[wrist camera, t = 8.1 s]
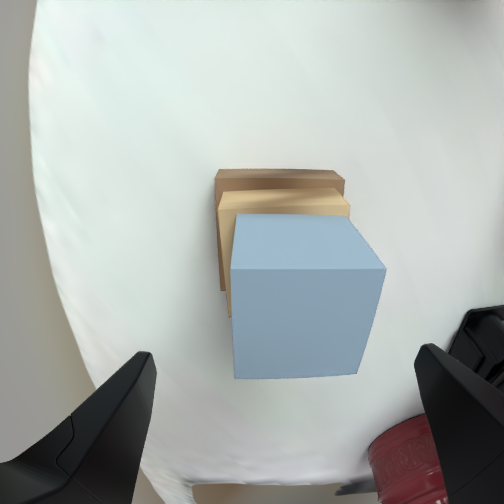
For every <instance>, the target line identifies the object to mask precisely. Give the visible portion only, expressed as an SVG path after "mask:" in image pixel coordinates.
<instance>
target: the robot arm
mask: <svg viewBox="0 0 504 504" xmlns="http://www.w3.org/2000/svg"><path fill="white" fill-rule="evenodd" d="M414 368H415V373H416V377H417V381H418V386H419V390H420V395H421V399H422V403H423V407H424V410H425V413H426V417H427V420H428V423H429V426H430V430H431V433H432V437H433V440H434V444H435V447H436V451H437V455H438V459H439V463H440V467H441V471H442V475H443V479H444V483H445V488H446V492H447V497H448V503H449V504H504V305H500V306H493V307H486V308H478V309H471V310H469V311H468V312H467V314H466V317H465V319H464V321H463V324H462V326H461V328H460V330H459V333H458V335H457V337H456V339H455V341H454V343H453V345H452V347H451V349H450V351H449V353H446V352H445V351H443V350H442V349H440V348H439V347H438V346H436V345H435V344H433V343H429V344H424V345H422V346H421V348H420V350H419V352H418V354H417V357H416V359H415V362H414ZM156 376H157V371H156V366H155V363H154V360H153V356H152V354H151V353H150V352H144V351H139V352H137V353H136V354H135V355H134V356H133V357H132V358H131V359H130V360H128V361H127V362H126V363H125V364H124V365H123V366H122V367H121V368H120V369H119V370H118V371H117V372H115V373H114V374H113V375H112V376H111V377H110V378H109V379H108V380H107V381H106V382H105V383H104V384H102V385H101V386H100V387H99V388H98V389H97V390H96V391H95V392H94V393H93V394H92V395H91V396H90V397H88V398H87V399H86V400H85V401H84V402H83V403H82V404H81V405H80V406H79V407H78V408H77V409H76V410H75V411H73V412H72V413H71V416H68V417H67V418H66V419H65V420H64V421H62V422H61V423H60V424H59V425H58V426H57V427H56V428H55V429H53V430H52V431H51V432H50V433H49V434H47V435H46V436H45V437H43V438H42V439H41V440H39V441H38V442H37V443H35V444H34V445H32V446H31V447H30V448H28V449H27V450H26V451H24V452H23V453H21V454H20V455H19V456H17V457H16V458H14V459H12V460H10V461H7V462H3V463H0V504H131V503H132V498H133V493H134V488H135V483H136V479H137V475H138V470H139V466H140V461H141V457H142V452H143V448H144V444H145V440H146V436H147V431H148V427H149V423H150V419H151V414H152V407H153V399H154V391H155V383H156Z"/></svg>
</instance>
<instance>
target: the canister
mask: <svg viewBox="0 0 504 504" xmlns="http://www.w3.org/2000/svg"><path fill="white" fill-rule="evenodd" d="M368 453H369V457H368V460H369V465H370V467H371V468H372V471H373V476H374V480H375V484H376V489H377V493H378V502H380V503H382V504H449V503H448V497H447V492H446V488H445V483H444V479H443V475H442V471H441V467H440V463H439V459H438V455H437V451H436V447H435V444H434V440H433V437H432V433H431V430H430V426H429V423H428V420H427V417H426V414H423V415H420V416H417V417H414V418H412V419H409V420H407V421H405V422H402V423H400V424H398V425H396V426H395V427H393V428H391V429H389V430H388V431H386V432H385V433H383V434H382V435H381V436H379V437H378V438H377V439H376V440H375V441H374V442H373V443H372V444H371V446H370V447H369V450H368Z"/></svg>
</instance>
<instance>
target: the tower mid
mask: <svg viewBox="0 0 504 504" xmlns="http://www.w3.org/2000/svg"><path fill="white" fill-rule="evenodd" d="M237 214H302V215H339V216H347V218H348V219H349V216H350V204H349V203H348V202H347V201H346V200H345V199H344V198H343V197H342V195H341V194H340V193H339V192H338V191H337V190H336V189H335V188H299V189H268V190H246V191H227V192H223V195H222V198H221V201H220V204H219V207H218V217H219V227H220V238H221V248H222V258H223V267H224V277H225V286H226V295H227V304H228V313H229V317H232V305H231V273H230V268H231V259H232V251H233V242H234V234H235V225H236V217H237Z"/></svg>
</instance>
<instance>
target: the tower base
mask: <svg viewBox="0 0 504 504" xmlns="http://www.w3.org/2000/svg"><path fill="white" fill-rule="evenodd" d="M344 183H345V180H344V179H343V178H342V177H341V176H340V175H338V174H337V173H336V172H335V171H333V170H308V169H219V171H218V173H217V175H216V177H215V200H216V220H217V239H218V257H219V273H220V288H221V291H226V286H225V277H224V267H223V258H222V248H221V238H220V227H219V217H218V207H219V204H220V201H221V198H222V195H223V192H227V191H246V190H268V189H299V188H335V189H336V190H337V191H338V192H339V193H340V194H341V195H342V197H343V194H344Z"/></svg>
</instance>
